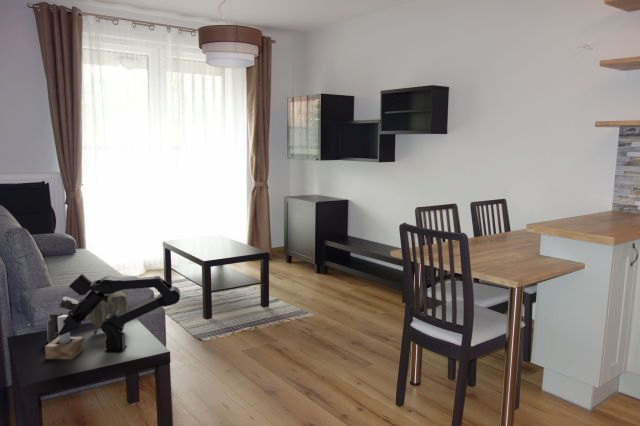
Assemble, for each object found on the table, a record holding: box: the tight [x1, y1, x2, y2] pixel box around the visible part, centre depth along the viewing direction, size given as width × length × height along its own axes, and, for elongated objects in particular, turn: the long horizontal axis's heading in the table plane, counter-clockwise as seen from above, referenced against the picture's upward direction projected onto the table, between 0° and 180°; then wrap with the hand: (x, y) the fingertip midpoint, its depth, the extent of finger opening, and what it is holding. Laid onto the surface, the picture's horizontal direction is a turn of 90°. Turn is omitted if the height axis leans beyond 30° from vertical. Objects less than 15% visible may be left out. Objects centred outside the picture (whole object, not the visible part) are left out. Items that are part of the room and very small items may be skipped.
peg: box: [57, 314, 71, 344], centre depth 199 cm, size 4×4×13 cm
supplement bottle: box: [46, 310, 63, 344], centre depth 213 cm, size 7×7×12 cm
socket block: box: [44, 336, 85, 360], centre depth 200 cm, size 10×10×5 cm
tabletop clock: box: [88, 276, 129, 334], centre depth 222 cm, size 14×9×25 cm, turn 133°
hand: (60, 332), depth 199 cm, fingers closed on peg, 4 cm apart
